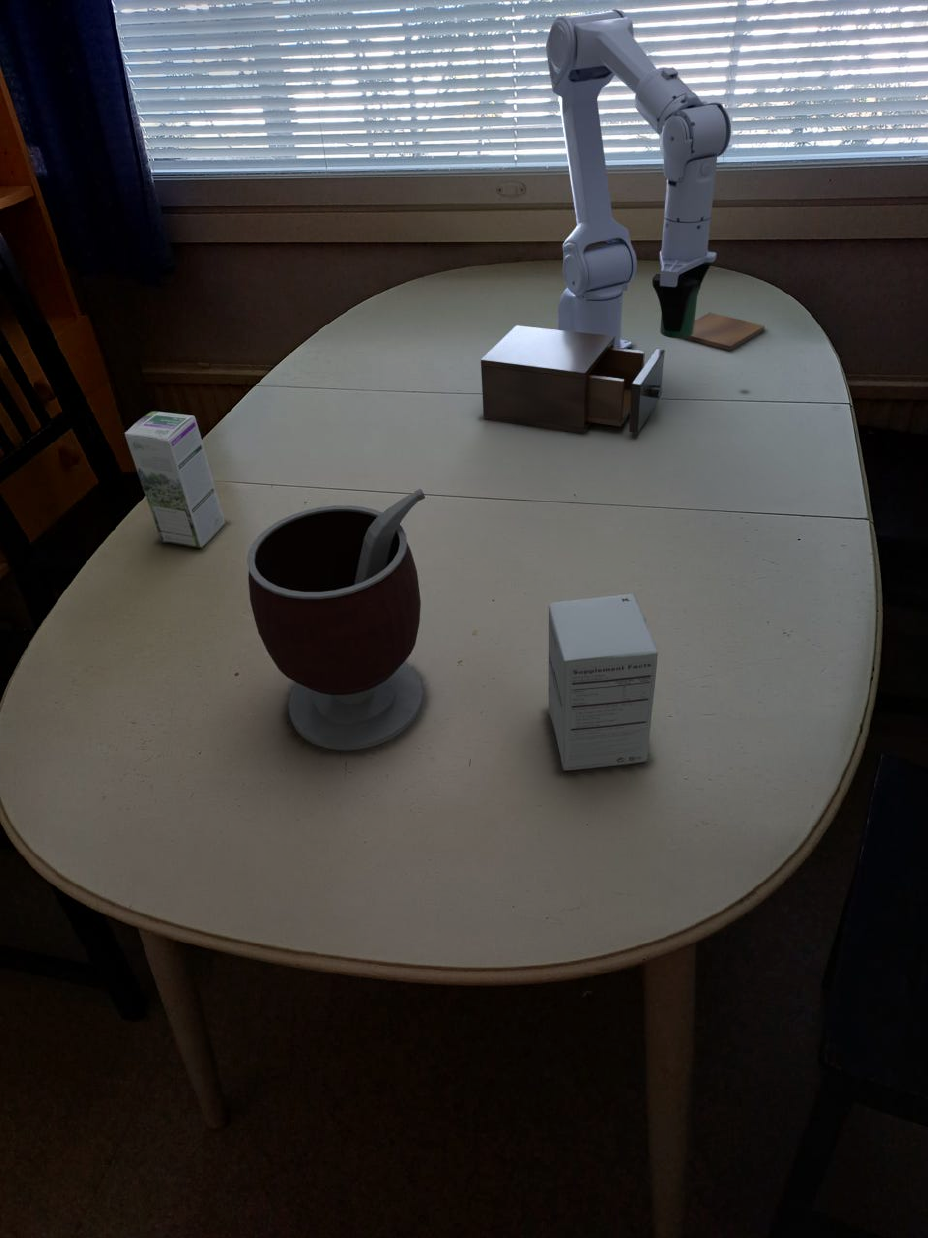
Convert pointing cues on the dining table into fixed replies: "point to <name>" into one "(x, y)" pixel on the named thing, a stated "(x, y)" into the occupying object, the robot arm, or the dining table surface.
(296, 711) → the mate gourd
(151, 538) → the dining table surface
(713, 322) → the board
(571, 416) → the small wooden cabinet
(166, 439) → the syrup box
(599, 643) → the white packaging box
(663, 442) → the dining table surface
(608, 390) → the drawer
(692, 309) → the green pot
